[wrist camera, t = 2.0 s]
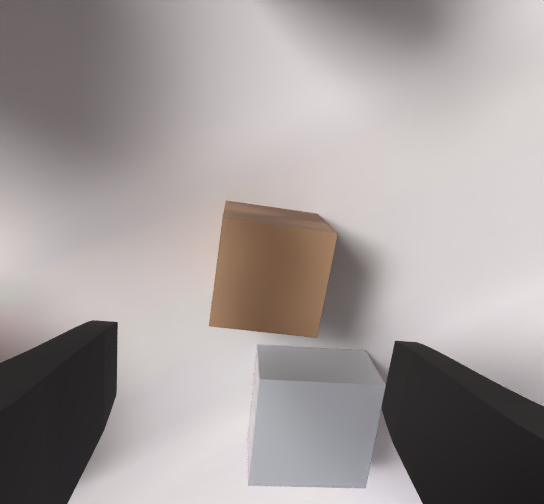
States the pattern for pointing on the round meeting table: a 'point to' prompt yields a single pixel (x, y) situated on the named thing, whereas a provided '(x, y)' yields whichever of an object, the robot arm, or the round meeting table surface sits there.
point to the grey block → (313, 417)
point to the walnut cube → (271, 270)
